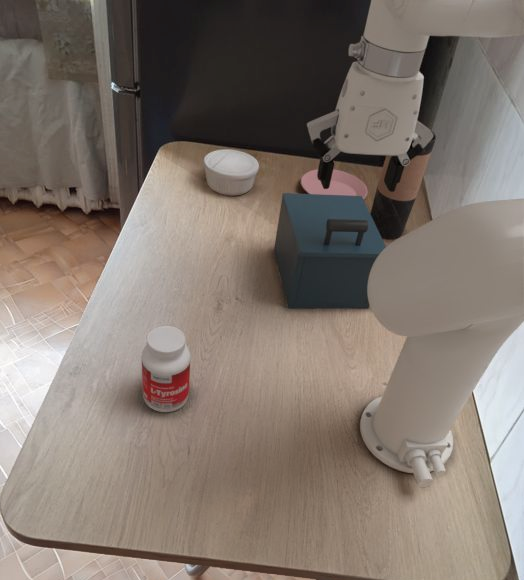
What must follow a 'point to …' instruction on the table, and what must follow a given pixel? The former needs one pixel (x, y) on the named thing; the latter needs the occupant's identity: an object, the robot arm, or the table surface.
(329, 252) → the lid
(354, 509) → the table surface
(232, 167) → the ramekin
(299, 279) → the chest
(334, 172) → the plate
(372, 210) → the travel mug
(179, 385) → the pill bottle
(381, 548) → the table surface
